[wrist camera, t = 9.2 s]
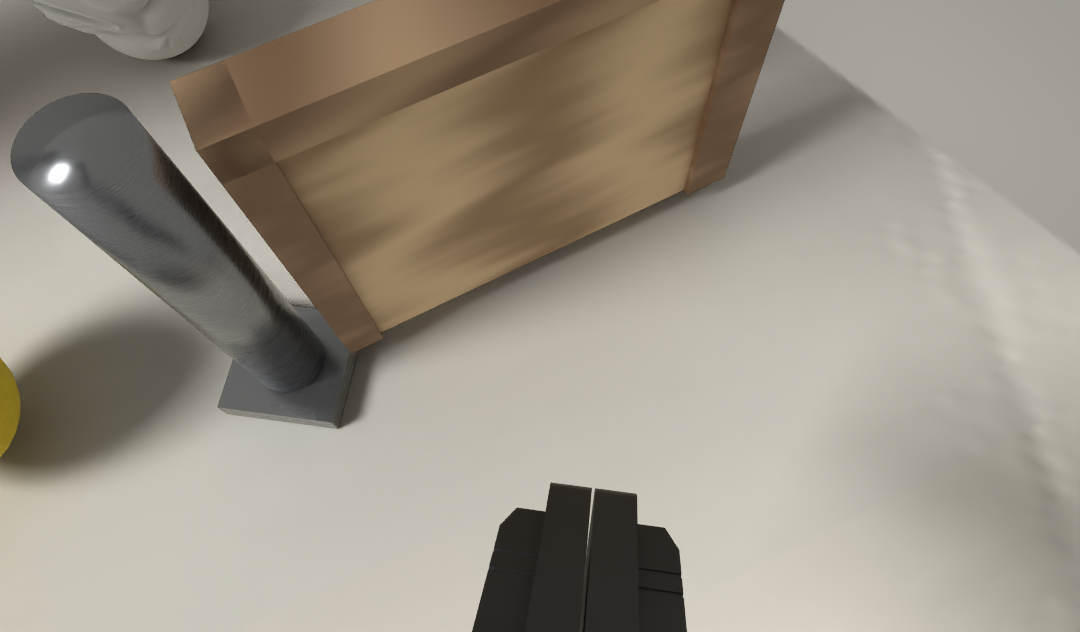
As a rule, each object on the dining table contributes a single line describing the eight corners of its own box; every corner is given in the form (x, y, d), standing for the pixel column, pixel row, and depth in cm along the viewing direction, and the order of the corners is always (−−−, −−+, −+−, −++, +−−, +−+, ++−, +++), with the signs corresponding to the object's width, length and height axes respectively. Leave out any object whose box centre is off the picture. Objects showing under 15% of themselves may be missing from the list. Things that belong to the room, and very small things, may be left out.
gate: (351, 353, 25) (196, 150, 15) (330, 306, 26) (168, 81, 15) (724, 177, 27) (821, -107, 17) (695, 139, 28) (771, -156, 18)
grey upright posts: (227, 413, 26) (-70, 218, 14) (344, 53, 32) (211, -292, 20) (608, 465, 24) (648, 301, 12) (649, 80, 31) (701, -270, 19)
